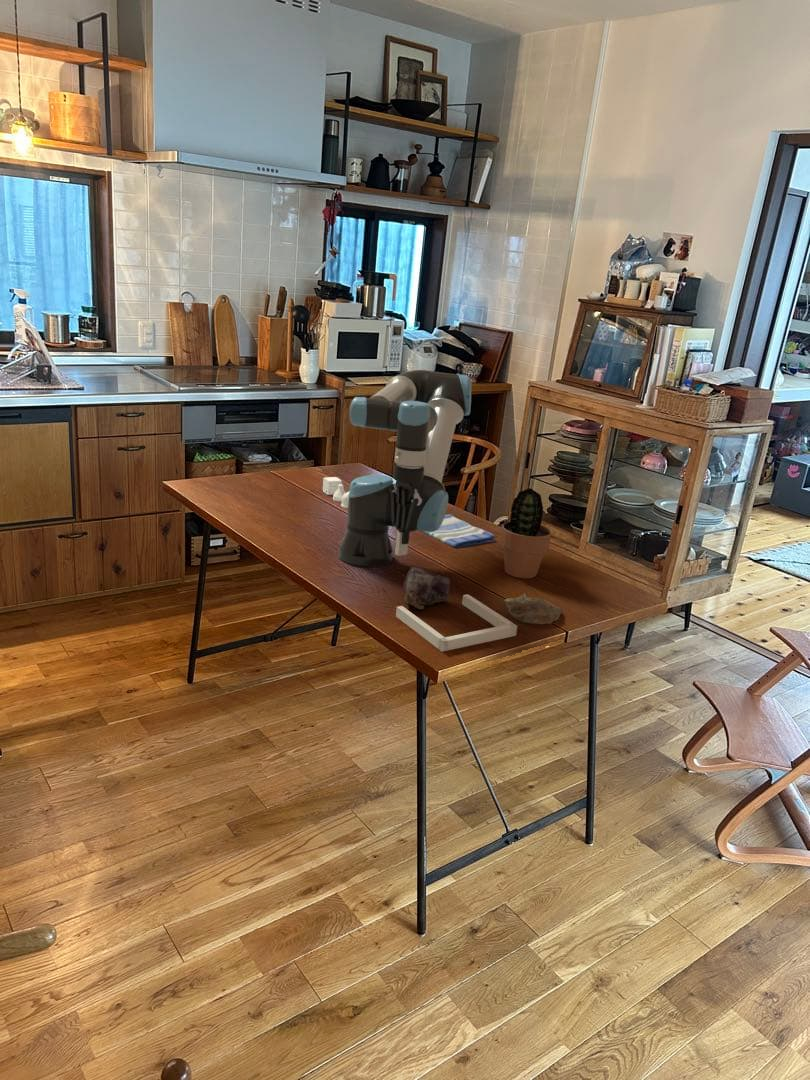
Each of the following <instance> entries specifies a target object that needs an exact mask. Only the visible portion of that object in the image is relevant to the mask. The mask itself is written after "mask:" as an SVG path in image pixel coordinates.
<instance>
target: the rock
mask: <svg viewBox="0 0 810 1080" xmlns="http://www.w3.org/2000/svg"><path fill="white" fill-rule="evenodd" d="M450 587H451V581H450V578H449V577H446V576H444V575H440V574H437V573H434V572H431V571H428V570H425V569H423V568H420V567H414V566H411V567H410V569H409V570H408V572H407V573H406V576H405V579H404V581H403V591H404V594H405V595H404V603H406V604H407V605H410V606H412V607H415V608H416V609H418V610H424V609H425V606H431V605H432V606H433V605H434V604H435V603H441V602H446V601H448V599H449V593H450Z"/></svg>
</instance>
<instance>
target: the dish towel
mask: <svg viewBox="0 0 810 1080" xmlns="http://www.w3.org/2000/svg"><path fill="white" fill-rule="evenodd" d="M422 533H424V534H425V535H427V536H429V537H431V538H434V539H436V540H438V542H439V541H440V542H442V543H444V544H446V545H447V546H450V547H452V548H454V549H455V548H456V549H458V548H462V547H470V546H476V545H477V546H478V545H483V544H488V543H494V542H495V538H496V536H495V534H493V533H492V532H489V531H486V530H484V529H482V528H480V527H476V526H473V525H471V524H470V523H469V522H466V521H465V520H462V519H459V518H457V517H455V516H454V515H453V514H450V513H449V514H445V517H444V520H443V522H442V524H441V526H440V527H439V529H438V530H436V531H434V532H426V531H423V532H422Z"/></svg>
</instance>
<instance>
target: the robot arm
mask: <svg viewBox="0 0 810 1080" xmlns="http://www.w3.org/2000/svg"><path fill="white" fill-rule="evenodd" d="M471 406H472V379H471V378H470V376H468V375H465V374H459V373H456V374H455V373H447V372H441V371H434V370H433V371H432V370H426V369H416V370H409V371H405V372H402V373H399V374H396V375H395V376H393V377H392V378H390V379H389V380H388V381H387V383H386V384H385V387H383V388H382V389H380V390H379V391H377V392H376V393H374V394H373V395H372V396H370V397H366V396H362V397H361V396H355V397H354V398H353V399H352V401H351V403H350V407H349V421H350V424H351V425H352V426H355V427H361V428H362V429H363V428H365V429H366V428H368V429H374V430H375V429H376V430H385V431H391V432H396V438H395V439H396V441H395V442H396V443H395V453H394V463H395V464H394V465H393V472H392V476H388V475H384V474H383V475H382V474H368V475H362V476H359V477H356V478H354V479H353V480H352V481H351V483H350V485H349V495H348V497H349V502H348V508H347V518H346V519H347V521H346V522H347V523H346V530H345V533H344V535H343V538H342V540H341V543H340V545H339V548H338V558H339V559H340V560H342V561H343V562H345V563H347V564H349V565H354V566H360V567H380V566H381V567H382V566H386V565H388V564H390V563H391V562H392V561H393V556H394V555H396V556H398V557H399V556H406V555H408V547H409V542H410V533H411V532H415V531H418V532H421V533H424V532H423V531H426V532H434V531H436V530H438V529H439V527H440V526H441V524H442V522H443V520H444V517H445V515H447V509H448V504H449V494H448V492H447V491H446V488H445V485H444V483H443V477H444V474H445V470H446V466H447V461H448V458H449V453H450V451H451V446H452V441H453V437H454V434H455V430H456V425H458V424H459V423H461V422H462V420H463V419H464V416H470V414H471V411H472V410H471ZM394 481H395V483H394ZM390 527H392V528H395V529H396V535H395V549H394V550H395V551H394V552H393V547H392V543H391V538H390V536H389V535H390V534H389V528H390ZM393 554H394V555H393Z"/></svg>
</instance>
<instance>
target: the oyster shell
mask: <svg viewBox="0 0 810 1080" xmlns="http://www.w3.org/2000/svg"><path fill="white" fill-rule="evenodd" d="M504 603H505V606H506V608H507V610H508V613H509V614H510V616H512V618H513V619H515V620H517V621H520V622H523V623H527V624H530V625H531V624H533V625H546V624H547V625H551V624H552V623H553V622H556V621H557V620H559V619H560V617H561V614H562V609H561V608H560V607H558V606H556V605H555V604H554V603H551V602H549V601H548V600H545V599H542V598H538V597H536V598H534V597H529V595H528V594H527V593H523V595H520V596H519V597H508V598H506V599H504Z"/></svg>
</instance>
